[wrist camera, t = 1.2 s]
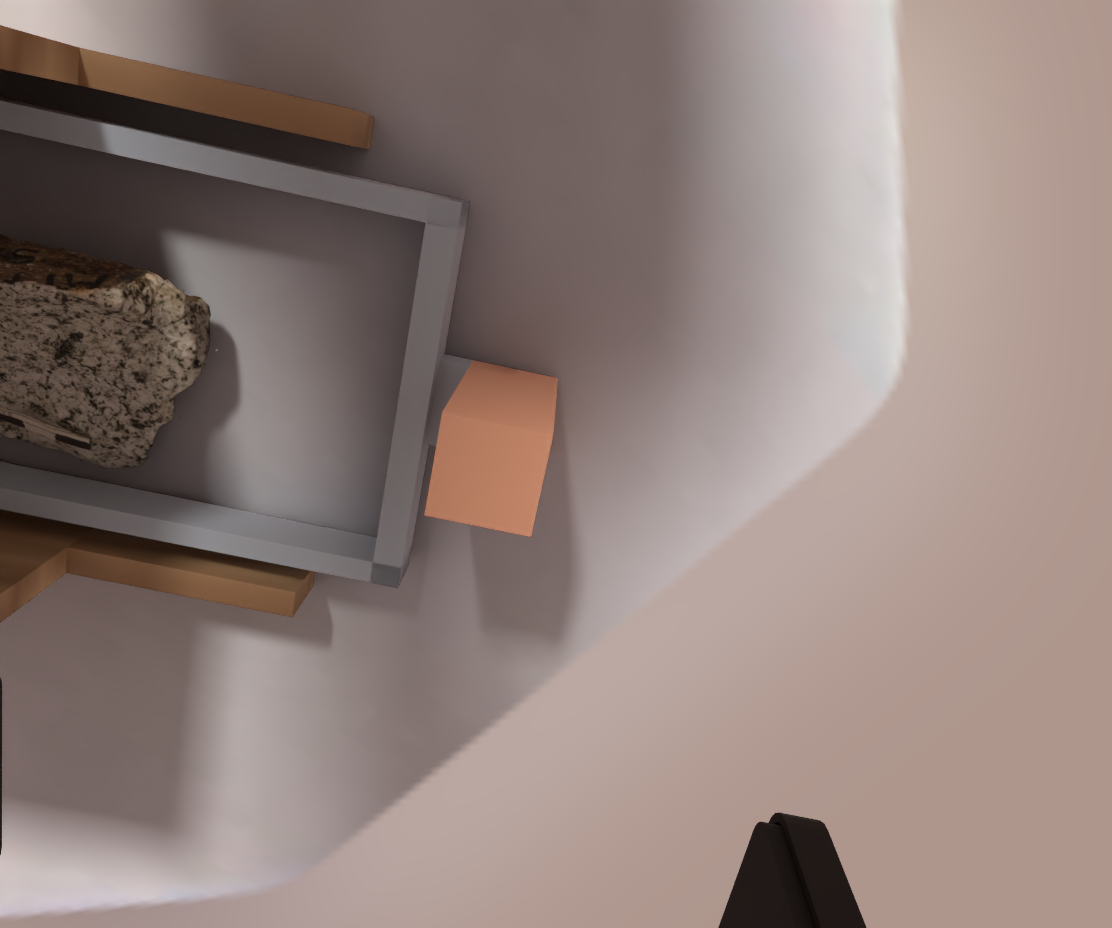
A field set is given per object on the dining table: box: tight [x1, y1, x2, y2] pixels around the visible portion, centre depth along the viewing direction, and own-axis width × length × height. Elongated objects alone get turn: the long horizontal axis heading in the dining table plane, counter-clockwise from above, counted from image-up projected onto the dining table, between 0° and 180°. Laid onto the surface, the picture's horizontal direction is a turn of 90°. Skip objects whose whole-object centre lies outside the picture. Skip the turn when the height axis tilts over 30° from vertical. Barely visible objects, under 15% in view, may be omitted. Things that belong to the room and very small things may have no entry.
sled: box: [0, 98, 558, 588], centre depth 25 cm, size 13×24×7 cm, turn 78°
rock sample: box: [0, 234, 218, 468], centre depth 27 cm, size 10×8×9 cm
